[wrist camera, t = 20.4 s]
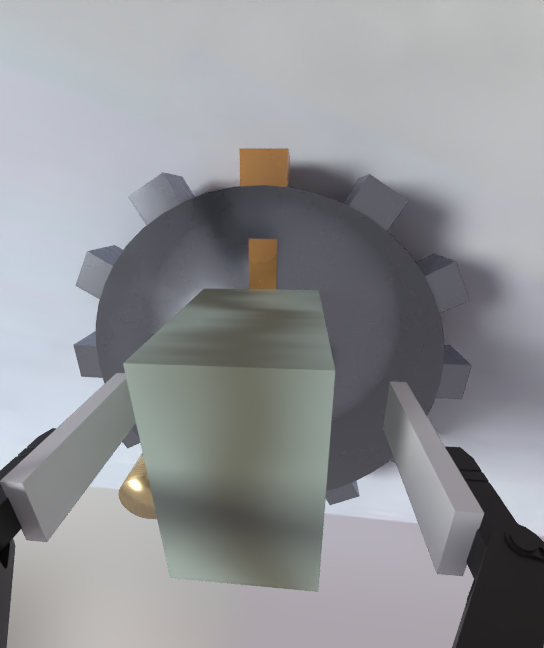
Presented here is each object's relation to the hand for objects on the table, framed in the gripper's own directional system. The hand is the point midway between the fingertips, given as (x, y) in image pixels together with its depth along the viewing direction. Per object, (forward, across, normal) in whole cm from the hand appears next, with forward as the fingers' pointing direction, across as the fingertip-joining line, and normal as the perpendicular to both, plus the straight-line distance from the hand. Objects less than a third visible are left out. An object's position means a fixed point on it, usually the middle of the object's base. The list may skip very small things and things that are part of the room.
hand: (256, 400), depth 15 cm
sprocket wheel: (+6, 0, 0) cm, 6 cm away
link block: (+3, 0, 0) cm, 3 cm away
